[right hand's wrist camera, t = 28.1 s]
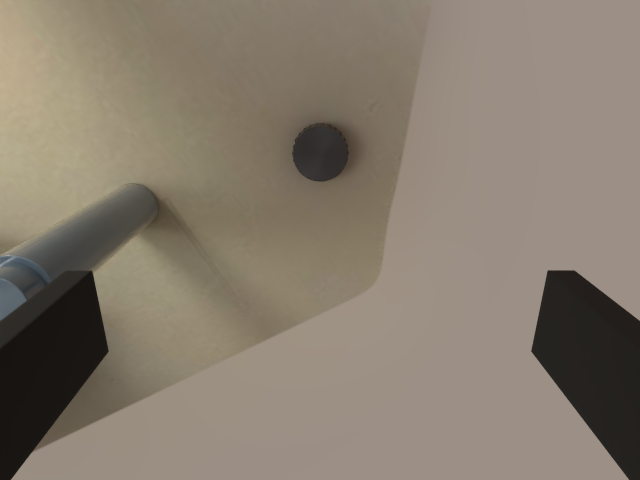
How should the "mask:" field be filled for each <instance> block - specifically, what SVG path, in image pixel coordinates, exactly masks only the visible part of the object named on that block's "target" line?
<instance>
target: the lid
mask: <svg viewBox="0 0 640 480" xmlns="http://www.w3.org/2000/svg"><path fill="white" fill-rule="evenodd" d="M295 141H296V142H295V144H294V146H293V148H294V149H293V153H292V154H293V161H294V163H295V165H296V167H297V169H298V170H299V172H300V173H301V174H302V175H304V176H305V177H307V178H308V179H311V180H314V181H327V180H330V179H332V178H334V177H336V176H337V175H338V174H339V173H340V172H341V171H342V170H343V169H344V167H345V165H346V162H347V160H348V159H347V157H348V150H347V147H348V146H347V144H346V143H345V141H346V140H345V138H343V136H342V134H341V132H339V131H338V130H337V129H336V128H334V127H332V126H331V125H326V124H324V123H323V124H317V123H316V124H315V125H310V126H309V127H307V128H306V129H305V128H304V130H303V131H302V132H301V133H299V136H298V138H296V140H295Z"/></svg>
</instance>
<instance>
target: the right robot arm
mask: <svg viewBox="0 0 640 480" xmlns="http://www.w3.org/2000/svg"><path fill="white" fill-rule="evenodd" d="M108 352H109V351H108V346H107V341H106V336H105V331H104V326H103V321H102V316H101V311H100V306H99V301H98V297H97V292H96V287H95V282H94V277H93V272H92V271H64V272H63V273H62V274H61V275H59V276H58V277H57V278H55V279H54V280H53V281H51V282H50V283H49V284H48V285H46V286H45V287H44V288H42V289H41V290H40V291H38V292H37V293H36V294H35V295H33V296H32V297H31V298H29V299H28V300H27V301H26V302H24V303H23V304H22V305H20V306H19V307H18V308H16V309H15V310H14V311H13V312H11V313H10V314H9V315H7V316H6V317H5V318H4V319H2V320H1V321H0V480H11V479H12V477H13V476H14V475H15V474H16V472H17V471H18V470H19V468H20V467H21V466H22V464H23V463H24V462H25V460H26V459H27V458H28V456H29V455H30V454H31V453H32V451H33V450H34V449H35V447H36V446H37V445H38V443H39V442H40V441H41V439H42V438H43V437H44V435H45V434H46V433H47V432H48V430H49V429H50V428H51V426H52V425H53V424H54V422H55V421H56V420H57V418H58V417H59V416H60V414H61V413H62V412H63V411H64V409H65V408H66V407H67V405H68V404H69V403H70V401H71V400H72V399H73V397H74V396H75V395H76V394H77V392H78V391H79V390H80V388H81V387H82V386H83V384H84V383H85V382H86V380H87V379H88V378H89V376H90V375H91V374H92V373H93V371H94V370H95V369H96V367H97V366H98V365H99V363H100V362H101V361H102V359H103V358H104V357H105V355H106V354H107V353H108ZM532 353H533V354H534V355H535V357H536V358H537V359H538V361H539V362H540V363H541V365H542V366H543V367H544V369H545V370H546V371H547V372H548V374H549V375H550V376H551V378H552V379H553V380H554V382H555V383H556V384H557V386H558V387H559V388H560V390H561V391H562V392H563V393H564V395H565V396H566V397H567V399H568V400H569V401H570V403H571V404H572V405H573V407H574V408H575V409H576V411H577V412H578V413H579V414H580V416H581V417H582V418H583V420H584V421H585V422H586V424H587V425H588V426H589V428H590V429H591V430H592V432H593V433H594V434H595V435H596V437H597V438H598V439H599V441H600V442H601V443H602V445H603V446H604V447H605V449H606V450H607V451H608V453H609V454H610V455H611V456H612V458H613V459H614V460H615V462H616V463H617V464H618V466H619V467H620V468H621V470H622V471H623V472H624V473H625V475H626V476H627V477H628V479H629V480H640V321H639V320H638V319H636V318H635V317H634V316H633V315H631V314H630V313H629V312H627V311H626V310H625V309H624V308H622V307H621V306H620V305H618V304H617V303H616V302H614V301H613V300H612V299H611V298H609V297H608V296H607V295H605V294H604V293H603V292H601V291H600V290H599V289H598V288H596V287H595V286H594V285H592V284H591V283H590V282H589V281H587V280H586V279H585V278H583V277H582V276H581V275H579V274H578V273H577V272H576V271H548V272H547V277H546V282H545V287H544V292H543V297H542V301H541V306H540V312H539V316H538V321H537V326H536V331H535V336H534V341H533V346H532Z"/></svg>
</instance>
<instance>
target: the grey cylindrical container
mask: <svg viewBox="0 0 640 480" xmlns="http://www.w3.org/2000/svg"><path fill="white" fill-rule="evenodd" d="M157 213H158V203H157V200H156V198H155V196H154V195H153V193H152V192H151V191H150V190H149V189H147V188H146V187H144V186H142V185H139V184H126V185H123V186H122V187H120V188H118V189H116V190H114V191H113V192H111V193H109V194H107V195H106V196H104V197H102V198H100V199H99V200H97V201H95V202H93V203H91V204H90V205H88V206H86V207H84V208H83V209H81V210H79V211H77V212H76V213H74V214H72V215H70V216H69V217H67V218H65V219H63V220H61V221H60V222H58V223H56V224H54V225H53V226H51V227H49V228H47V229H46V230H44V231H42V232H40V233H38V234H37V235H35V236H33V237H31V238H30V239H28V240H26V241H24V242H23V243H21V244H19V245H17V246H16V247H14V248H12V249H10V250H8V251H7V252H5V253H3V254H1V255H0V321H1V320H2V319H4V318H5V317H6V316H7V315H9V314H10V313H11V312H13V311H14V310H15V309H16V308H18V307H19V306H20V305H22V304H23V303H24V302H26V301H27V300H28V299H29V298H31V297H32V296H33V295H35V294H36V293H37V292H38V291H40V290H41V289H42V288H44V287H45V286H46V285H48V284H49V283H50V282H51V281H53V280H54V279H55V278H57V277H58V276H59V275H61V274H62V273H63V272H64V271H92V272H93V273H95V272H96V271H97V270H98V269H99V268H100V267H101V266H103V265H104V264H105V263H106V262H107V261H108V260H109V259H110V258H112V257H113V256H114V255H115V254H116V253H117V252H118V251H120V250H121V249H122V248H123V247H124V246H125V245H126V244H128V243H129V242H130V241H131V240H132V239H133V238H134V237H135V236H137V235H138V234H139V233H140V232H141V231H142V230H143V229H145V228H146V227H147V226H148V225H149V224H150V223H151V222H153V220H154V219H155V218H156V216H157Z"/></svg>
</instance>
